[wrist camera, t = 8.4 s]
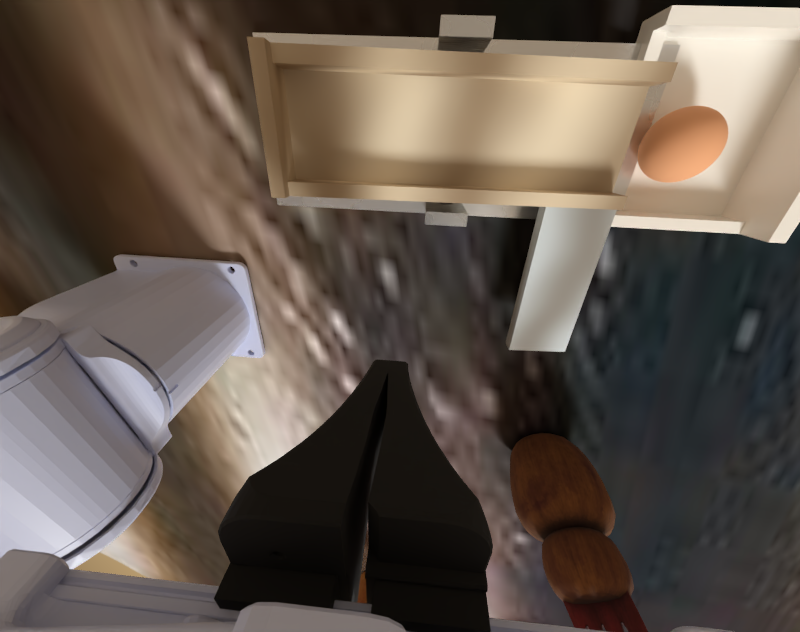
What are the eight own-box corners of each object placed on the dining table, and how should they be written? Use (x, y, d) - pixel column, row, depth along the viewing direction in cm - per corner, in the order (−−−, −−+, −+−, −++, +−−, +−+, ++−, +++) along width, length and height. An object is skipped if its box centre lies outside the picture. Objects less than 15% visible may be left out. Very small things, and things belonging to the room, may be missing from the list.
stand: (281, 203, 20) (246, 218, 16) (258, 36, 16) (203, 1, 12) (609, 221, 19) (656, 241, 15) (671, 48, 15) (758, 14, 11)
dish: (580, 218, 19) (611, 233, 15) (642, 21, 14) (702, -13, 11) (723, 225, 18) (785, 243, 15) (831, 26, 14) (949, -8, 11)
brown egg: (691, 182, 16) (621, 177, 17) (724, 109, 15) (645, 109, 16) (718, 188, 14) (634, 182, 15) (762, 101, 12) (665, 101, 13)
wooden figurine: (583, 421, 27) (734, 692, 13) (575, 464, 29) (695, 725, 16) (501, 425, 27) (568, 681, 14) (501, 466, 30) (557, 714, 17)
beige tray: (309, 335, 21) (296, 361, 18) (273, 46, 13) (244, 25, 11) (558, 343, 21) (579, 370, 18) (656, 65, 14) (712, 48, 11)
